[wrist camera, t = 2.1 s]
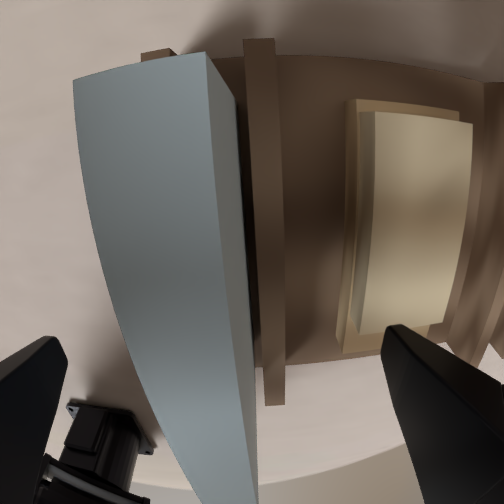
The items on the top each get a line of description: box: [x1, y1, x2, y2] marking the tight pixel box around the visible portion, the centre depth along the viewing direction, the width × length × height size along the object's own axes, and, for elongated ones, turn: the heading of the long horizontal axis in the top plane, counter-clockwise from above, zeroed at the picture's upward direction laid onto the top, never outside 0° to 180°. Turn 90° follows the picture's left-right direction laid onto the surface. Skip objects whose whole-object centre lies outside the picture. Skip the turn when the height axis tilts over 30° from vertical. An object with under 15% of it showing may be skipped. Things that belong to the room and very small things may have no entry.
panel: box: [73, 52, 258, 504], centre depth 10 cm, size 12×2×10 cm, turn 3°
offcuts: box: [336, 99, 473, 354], centre depth 13 cm, size 12×5×3 cm, turn 3°
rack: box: [141, 38, 504, 406], centre depth 13 cm, size 16×20×4 cm
